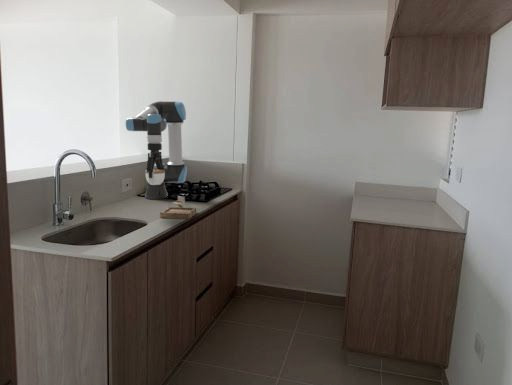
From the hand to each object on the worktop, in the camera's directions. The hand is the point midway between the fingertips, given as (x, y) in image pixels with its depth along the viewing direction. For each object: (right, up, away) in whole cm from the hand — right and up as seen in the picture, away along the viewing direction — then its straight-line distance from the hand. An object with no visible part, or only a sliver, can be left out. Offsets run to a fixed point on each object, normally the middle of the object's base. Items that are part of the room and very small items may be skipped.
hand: (155, 182), depth 236 cm
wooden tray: (+13, -18, +2) cm, 22 cm away
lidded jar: (0, -1, 0) cm, 1 cm away
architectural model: (+10, -16, +22) cm, 29 cm away
